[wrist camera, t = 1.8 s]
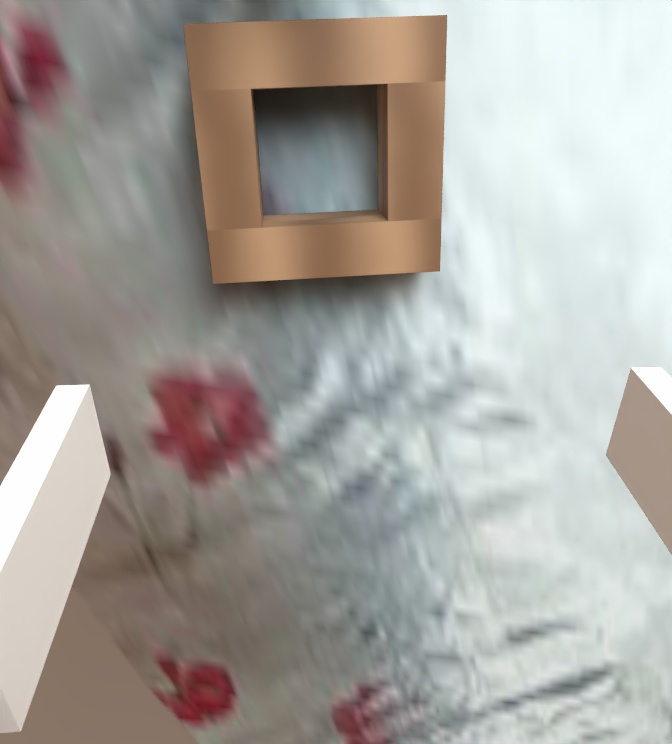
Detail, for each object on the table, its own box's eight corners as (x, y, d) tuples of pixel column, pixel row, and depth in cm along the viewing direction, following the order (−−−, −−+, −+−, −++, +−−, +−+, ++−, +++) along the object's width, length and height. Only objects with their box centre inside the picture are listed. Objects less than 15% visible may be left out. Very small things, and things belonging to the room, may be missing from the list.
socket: (430, 23, 36) (446, 15, 32) (425, 255, 41) (439, 271, 37) (193, 31, 35) (183, 23, 31) (219, 266, 40) (213, 283, 36)
